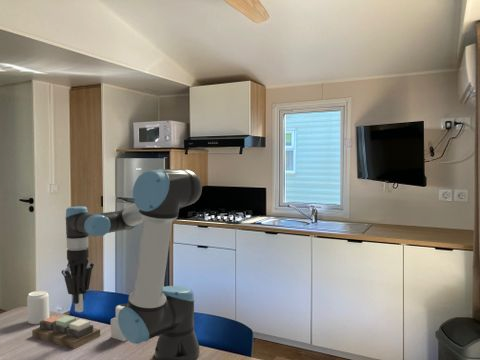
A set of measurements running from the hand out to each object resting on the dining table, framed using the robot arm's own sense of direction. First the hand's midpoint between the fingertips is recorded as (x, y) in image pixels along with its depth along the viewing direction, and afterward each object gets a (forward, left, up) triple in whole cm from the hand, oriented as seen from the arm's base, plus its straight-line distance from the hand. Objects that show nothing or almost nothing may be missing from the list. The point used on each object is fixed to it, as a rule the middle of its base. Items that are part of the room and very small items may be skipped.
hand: (79, 311), depth 149 cm
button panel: (+7, 0, -11) cm, 13 cm away
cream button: (0, 0, -7) cm, 7 cm away
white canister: (+30, -5, -11) cm, 33 cm away
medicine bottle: (-13, -10, -11) cm, 20 cm away
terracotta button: (+15, 0, -8) cm, 17 cm away
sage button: (+7, 0, -7) cm, 10 cm away
